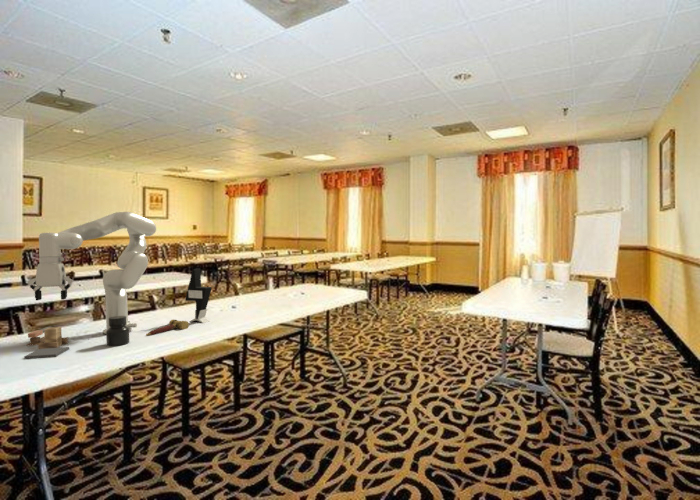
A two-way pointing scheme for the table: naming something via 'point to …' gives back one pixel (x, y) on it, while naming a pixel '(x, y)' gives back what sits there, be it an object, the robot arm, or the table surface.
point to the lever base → (36, 341)
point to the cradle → (52, 344)
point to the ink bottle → (117, 331)
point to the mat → (46, 352)
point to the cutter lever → (37, 332)
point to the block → (53, 335)
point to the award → (198, 296)
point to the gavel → (170, 327)
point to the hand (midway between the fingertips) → (51, 299)
